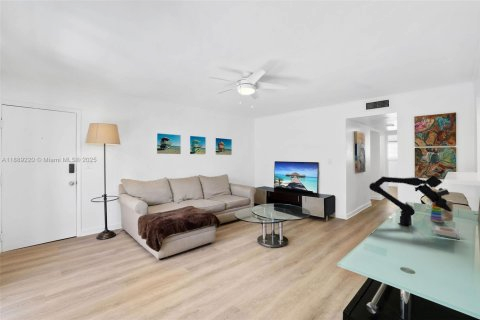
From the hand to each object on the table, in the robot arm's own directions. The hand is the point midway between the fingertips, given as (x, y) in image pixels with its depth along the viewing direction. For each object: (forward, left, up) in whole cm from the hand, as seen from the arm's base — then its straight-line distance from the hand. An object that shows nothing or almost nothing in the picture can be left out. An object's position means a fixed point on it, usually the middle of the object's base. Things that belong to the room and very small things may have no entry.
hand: (450, 210), depth 142 cm
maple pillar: (-1, +1, -7) cm, 7 cm away
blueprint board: (-6, -2, -13) cm, 15 cm away
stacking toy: (+13, +18, -14) cm, 26 cm away
